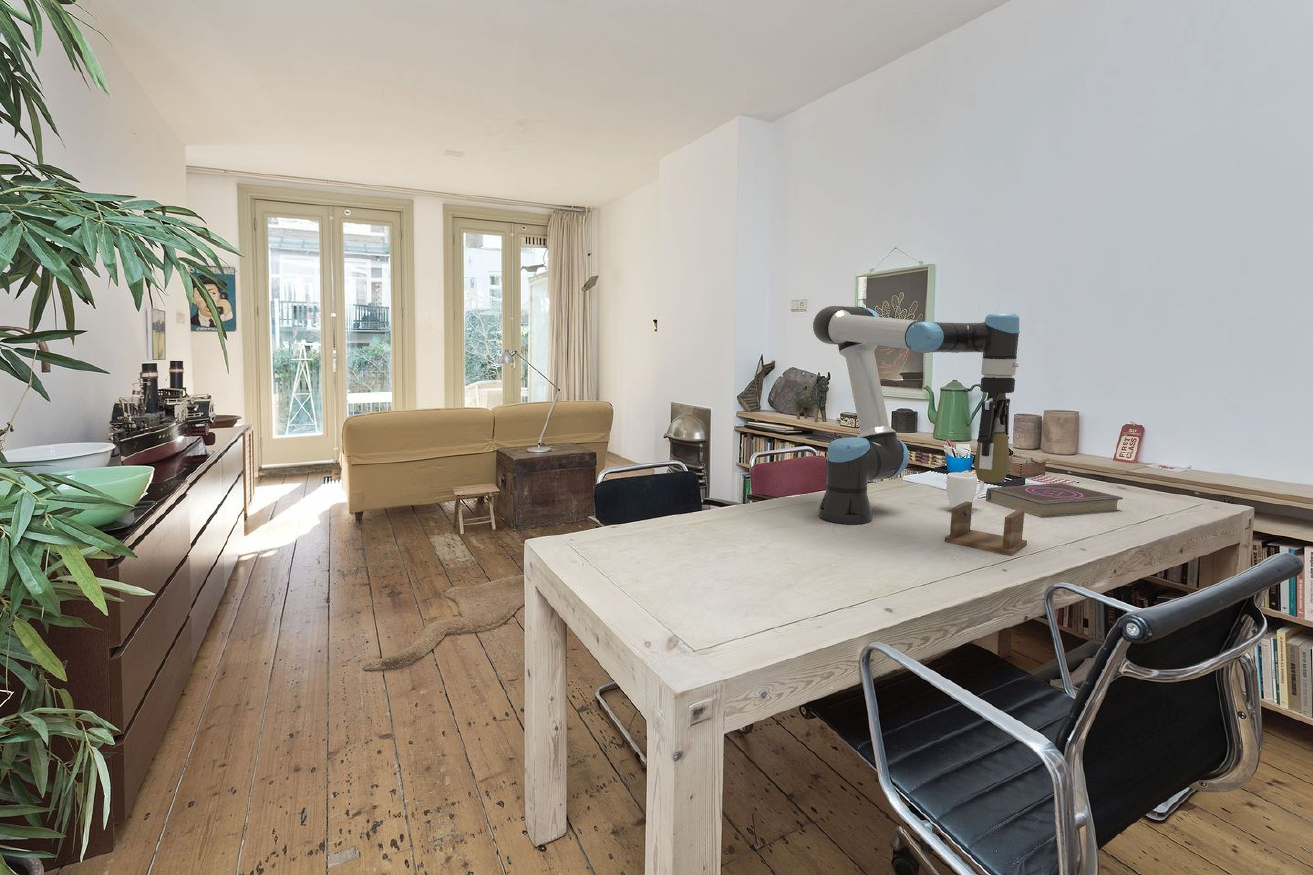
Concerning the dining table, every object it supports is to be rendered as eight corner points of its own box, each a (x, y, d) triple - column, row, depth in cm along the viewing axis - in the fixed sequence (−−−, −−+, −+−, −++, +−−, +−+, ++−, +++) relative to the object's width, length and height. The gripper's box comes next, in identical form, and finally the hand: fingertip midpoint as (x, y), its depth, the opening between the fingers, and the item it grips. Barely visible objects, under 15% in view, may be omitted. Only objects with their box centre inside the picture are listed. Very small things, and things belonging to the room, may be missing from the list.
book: (1041, 519, 189) (1043, 503, 189) (985, 502, 211) (986, 487, 210) (1121, 512, 197) (1122, 497, 197) (1058, 496, 219) (1060, 482, 218)
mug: (957, 515, 192) (959, 478, 190) (939, 508, 200) (941, 472, 198) (991, 513, 195) (993, 476, 193) (971, 506, 203) (974, 471, 201)
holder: (944, 541, 166) (946, 507, 165) (961, 532, 174) (963, 500, 173) (1011, 555, 155) (1014, 519, 153) (1026, 545, 163) (1029, 510, 162)
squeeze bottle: (1013, 484, 157) (1018, 412, 155) (977, 483, 159) (982, 411, 156) (1002, 478, 165) (1007, 409, 163) (968, 477, 167) (973, 408, 164)
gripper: (1000, 378, 148) (993, 474, 152) (1027, 375, 163) (1020, 463, 166) (967, 377, 154) (960, 469, 157) (995, 375, 168) (989, 459, 171)
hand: (991, 466), depth 162 cm, fingers closed on squeeze bottle, 8 cm apart
